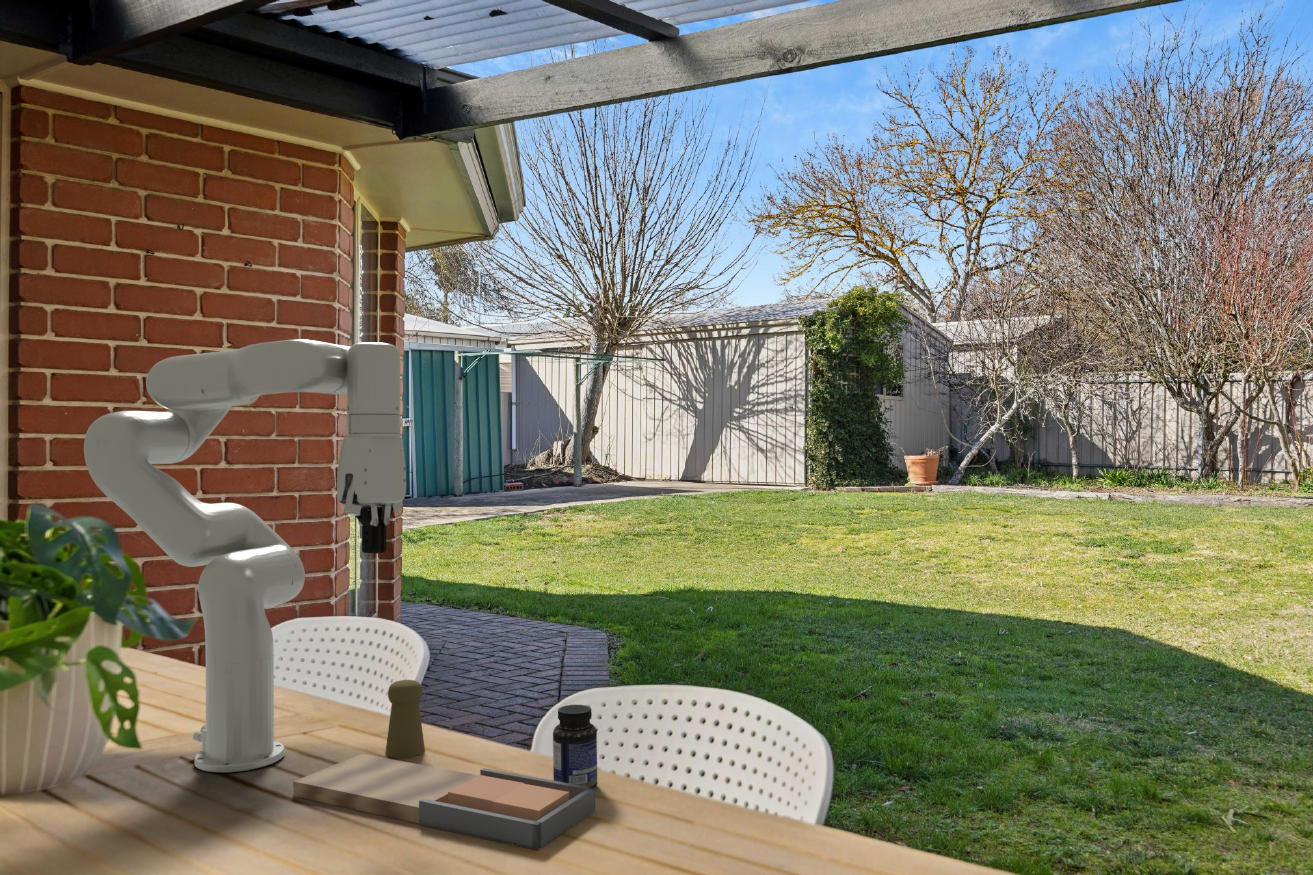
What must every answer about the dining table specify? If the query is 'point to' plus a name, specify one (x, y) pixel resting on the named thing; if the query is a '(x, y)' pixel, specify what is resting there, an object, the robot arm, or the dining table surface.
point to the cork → (405, 720)
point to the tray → (507, 826)
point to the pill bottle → (575, 747)
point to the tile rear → (481, 792)
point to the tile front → (529, 802)
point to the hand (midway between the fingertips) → (374, 552)
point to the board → (380, 785)
